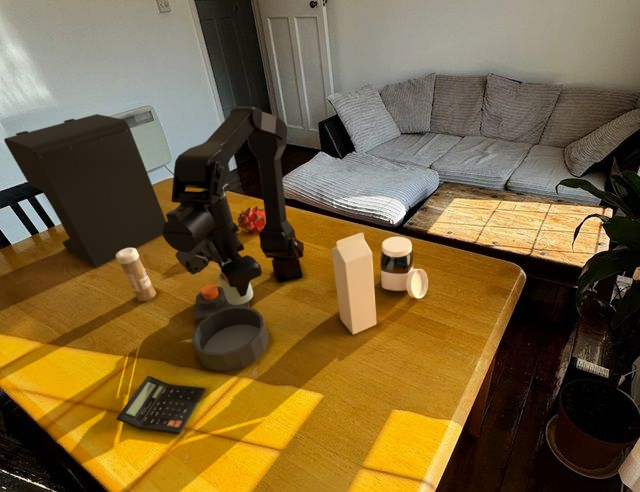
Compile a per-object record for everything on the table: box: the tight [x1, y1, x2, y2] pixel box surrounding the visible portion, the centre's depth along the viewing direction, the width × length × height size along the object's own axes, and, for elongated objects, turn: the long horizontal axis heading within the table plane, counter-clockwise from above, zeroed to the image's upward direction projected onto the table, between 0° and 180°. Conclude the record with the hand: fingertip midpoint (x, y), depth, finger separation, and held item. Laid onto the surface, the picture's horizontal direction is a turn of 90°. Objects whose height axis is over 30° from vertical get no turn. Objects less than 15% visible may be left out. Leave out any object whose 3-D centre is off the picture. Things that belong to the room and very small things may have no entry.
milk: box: [331, 232, 377, 336], centre depth 85 cm, size 6×6×22 cm
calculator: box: [115, 374, 206, 435], centre depth 75 cm, size 9×12×3 cm
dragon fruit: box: [237, 205, 266, 234], centre depth 127 cm, size 8×8×12 cm
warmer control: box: [194, 285, 251, 326], centre depth 97 cm, size 12×9×4 cm
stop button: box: [200, 284, 219, 300], centre depth 96 cm, size 4×4×2 cm
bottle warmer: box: [191, 306, 269, 373], centre depth 86 cm, size 14×14×5 cm
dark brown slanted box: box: [3, 113, 167, 269], centre depth 121 cm, size 28×20×35 cm
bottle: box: [218, 261, 254, 305], centre depth 83 cm, size 5×5×9 cm
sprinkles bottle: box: [115, 248, 157, 302], centre depth 101 cm, size 5×5×14 cm
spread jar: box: [379, 236, 429, 299], centre depth 97 cm, size 12×11×12 cm
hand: (237, 288), depth 84 cm, fingers closed on bottle, 5 cm apart
